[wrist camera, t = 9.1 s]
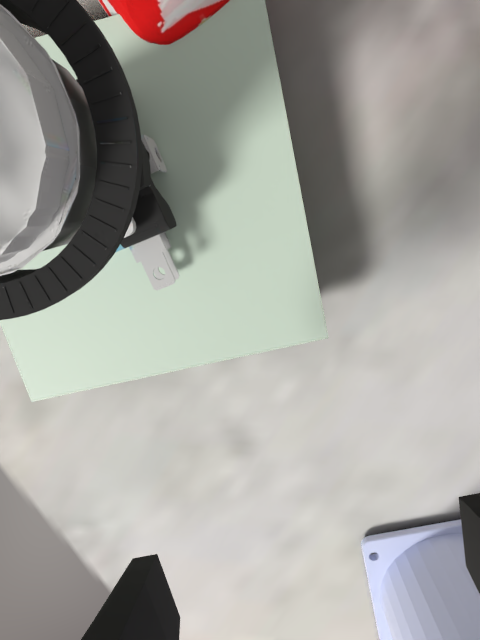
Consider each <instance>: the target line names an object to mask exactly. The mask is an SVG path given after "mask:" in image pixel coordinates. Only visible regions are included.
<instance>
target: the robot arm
mask: <svg viewBox="0 0 480 640" xmlns="http://www.w3.org/2000/svg"><path fill="white" fill-rule="evenodd" d="M459 504H460V514H461V519H460V520H454V521H449V522H443V523H437V524H432V525H426V526H421V527H415V528H409V529H404V530H398V531H393V532H387V533H381V534H376V535H370V536H367V537H365V538H364V539H363V540H362V542H361V548H362V553H363V558H364V563H365V568H366V573H367V579H368V584H369V589H370V594H371V599H372V604H373V610H374V615H375V620H376V625H377V630H378V636H379V640H480V493H478V494H473V495H467V496H462V497H459ZM373 552H376V553H375V554H373V555H372V554H371V553H373ZM179 628H180V616H179V613H178V610H177V607H176V605H175V602H174V599H173V596H172V594H171V591H170V588H169V585H168V583H167V580H166V577H165V574H164V572H163V569H162V566H161V563H160V561H159V558H158V555H157V554H155V555H150V556H144V557H139V558H134V559H132V561H131V562H130V564H129V565H128V567H127V568H126V570H125V572H124V573H123V575H122V576H121V578H120V579H119V581H118V583H117V584H116V586H115V587H114V589H113V591H112V592H111V594H110V595H109V597H108V599H107V600H106V602H105V603H104V605H103V607H102V608H101V610H100V611H99V613H98V614H97V616H96V618H95V619H94V621H93V622H92V624H91V625H90V627H89V629H88V630H87V631H86V633H85V634H84V636H83V637H82V639H81V640H179Z"/></svg>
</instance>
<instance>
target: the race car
mask: <svg viewBox="0 0 480 640" xmlns="http://www.w3.org/2000/svg"><path fill="white" fill-rule="evenodd" d="M98 1H99V3H100V4H101V6H102V7H103V9H104V10H105V12H106V13H107V15H108V16H109V17H110V16H114V15H117V14H120V16H121V17H122V18H123V20H124V21H125V22H126V23H127V25H128V26H129V27H130V29H131V30H132V31H133V32H134V33H135V34H136V35H137V36H139V37H140V38H141V39H143V40H145V41H146V42H148V43H154V44H158V45H170V44H171V43H173V42H175V41H177V40H179V39H181V38H183V37H184V36H185V35H187V34H188V33H190V32H191V31H193V30H194V29H196V28H197V27H198V26H200V25H201V24H202V23H204V22H205V21H207V20H208V19H209V18H210V17H211V16H213V15H214V14H215V13H216V12H217V11H218V10H220V9H221V8H222V7H223V6H224V5H225V4H226V3H228V2H229V1H230V0H98Z"/></svg>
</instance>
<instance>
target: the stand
mask: <svg viewBox="0 0 480 640" xmlns="http://www.w3.org/2000/svg"><path fill="white" fill-rule="evenodd" d="M94 22H95V23H96V25H97V26H98V27H99V29H100V30H101V32H102V33H103V35H104V36H105V38H106V40H107V41H108V43H109V44H110V46H111V47H112V49H113V51H114V53H115V55H116V57H117V59H118V61H119V63H120V65H121V67H122V69H123V71H124V74H125V76H126V79H127V81H128V84H129V86H130V89H131V92H132V96H133V99H134V103H135V106H136V110H137V115H138V120H139V126H140V132H141V136H142V135H146V136H148V137H150V138H152V139H153V140H154V142H155V143H156V145H157V147H158V150H159V152H160V154H161V157H162V159H163V161H164V164H165V166H166V169H167V172H166V173H164V172H161V171H156V172H154V173H152V174H151V179H152V181H153V183H154V185H155V187H156V189H157V190H158V191H159V193H160V194H161V195H162V197H163V198H164V199H165V201H166V202H167V203H168V205H169V207H170V209H171V211H172V213H173V215H174V218H175V220H176V224H177V226H176V227H174V228H172V229H170V230H168V231H165V233H166V236H167V238H168V240H169V242H170V245H171V248H169V249H168V251H169V253H170V255H171V257H172V260H173V262H174V264H175V266H176V269H177V271H178V273H179V278H178V279H176V280H175V283H174V284H172V285H170V286H167V287H165V288H162V289H160V290H158V291H157V290H154V289H153V286H152V284H151V282H150V280H149V278H148V276H147V274H146V272H145V269H144V267H143V265H142V263H141V262H138V263H136V261H135V259H134V256H133V254H132V252H131V250H130V248H129V247H127V248H125V249H122V250H120V251H118V252H115V254H114V255H113V256H112V258H111V259H110V260H109V262H108V263H107V264H106V265H105V267H104V268H103V269H102V270H101V271H100V272H99V273H98V274H97V275H96V276H95V277H94V278H93V279H92V280H91V281H90V282H88V283H87V284H86V285H85V286H83V287H82V288H81V289H80V290H78V291H76V292H75V293H73V294H72V295H70V296H68V297H67V298H65V299H63V300H62V301H60V302H58V303H56V304H54V305H52V306H50V307H48V308H46V309H44V310H41V311H38V312H35V313H32V314H29V315H26V316H21V317H17V318H12V319H5V320H0V325H1V327H2V330H3V332H4V335H5V337H6V340H7V342H8V345H9V347H10V350H11V352H12V354H13V357H14V359H15V362H16V364H17V367H18V369H19V372H20V374H21V377H22V379H23V382H24V384H25V387H26V389H27V392H28V394H29V397H30V399H31V402H34V401H38V400H43V399H48V398H52V397H57V396H61V395H66V394H71V393H75V392H80V391H85V390H89V389H94V388H99V387H103V386H108V385H113V384H117V383H122V382H127V381H131V380H136V379H141V378H145V377H150V376H155V375H159V374H164V373H169V372H173V371H178V370H182V369H187V368H192V367H196V366H201V365H206V364H210V363H215V362H220V361H224V360H229V359H234V358H238V357H243V356H248V355H252V354H257V353H262V352H266V351H271V350H276V349H280V348H285V347H290V346H294V345H299V344H304V343H308V342H313V341H317V340H322V339H327V338H328V333H327V327H326V322H325V317H324V311H323V306H322V301H321V295H320V290H319V285H318V280H317V274H316V269H315V264H314V258H313V253H312V248H311V242H310V237H309V232H308V226H307V221H306V216H305V210H304V205H303V200H302V194H301V189H300V184H299V179H298V173H297V168H296V163H295V157H294V152H293V147H292V141H291V136H290V131H289V125H288V120H287V115H286V109H285V104H284V99H283V94H282V88H281V83H280V78H279V72H278V67H277V62H276V56H275V51H274V46H273V40H272V35H271V30H270V24H269V19H268V14H267V8H266V3H265V0H230V1H229V2H228V3H226V4H225V5H224V6H223V7H222V8H221V9H220V10H218V11H217V12H216V13H215V14H214V15H213V16H211V17H210V18H209V19H208V20H207V21H205V22H204V23H202V24H201V25H200V26H198V27H197V28H196V29H194V30H193V31H191V32H190V33H188V34H187V35H185V36H184V37H183V38H181V39H179V40H177V41H175V42H173V43H171V44H170V45H158V44H154V43H148V42H146V41H145V40H143V39H141V38H140V37H139V36H137V35H136V34H135V33H134V32H133V31H132V30H131V29H130V27H129V26H128V25H127V23H126V22H125V21H124V20H123V18H122V17H121V16H120V14H117V15H114V16H110V17H107V18H103V19H100V20H96V21H94ZM35 39H36V40H37V41H38V42H39V44H40V45H41V46H42V47H43V48H44V49H45V50H46V51H47V53H48V54H49V56H50V58H51V59H53V60H54V61H56V62H57V63H58V64H60V65H61V66H63V67H64V68H66V69H67V70H68V71H69V72H70V74H71V75H72V76H73V77H74V79H75V80H76V79H77V76H76V74H75V72H74V71H73V69H72V67H71V66H70V64H69V62H68V61H67V59H66V57H65V56H64V54H63V53H62V52H61V50H60V49H59V48H58V46H57V45H56V44H55V42H54V41H53V40H52V38H51V37H50V36H49V35H48V34H47V35H43V36H40V37H36V38H35ZM67 245H68V244H67ZM67 245H63V246H59V247H56V248H52V249H49V250H45V251H42V252H40V253H39V254H38V255H37V256H36V257H35V258H33V259H32V260H31V261H30V262H29V263H27V264H26V265H25V266H24V267H23V268H21V269H19V270H29V269H39V268H41V267H43V266H45V265H46V264H48V263H49V262H50V261H51V260H52V259H54V258H55V257H56V256H57V255H58V254H59V253H60V252H61V251H62V250H63V249H64V248H65V247H66V246H67ZM159 271H160V273H162V274H165V271H164V269H163V268H161V267H159ZM153 273H154V272H153ZM154 276H155V274H154ZM155 277H156V276H155Z"/></svg>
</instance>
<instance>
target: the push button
mask: <svg viewBox="0 0 480 640" xmlns="http://www.w3.org/2000/svg"><path fill="white" fill-rule="evenodd" d="M21 23H22V24H25V25H28V26H30V27H33V28H36V29H38V30H40V31H42V32H44V33H46V34H48V35H49V36H50V37H51V38H52V40H53V41H54V42H55V44H56V45H57V46H58V48H59V49H60V50H61V52H62V53H63V54H64V56H65V57H66V59H67V61H68V62H69V64H70V66H71V67H72V69H73V71H74V72H75V74H76V76H77V79H76V80H75V79H74V77H73V76H72V75H71V74H70V72H69V71H68V70H67V69H66V68H64V67H63V66H61V65H60V64H58V63H57V62H56V61H54V60H53V59H51V58H50V56H49V54H48V53H47V51H46V50H45V49H44V48H43V47H42V46H41V45H40V44H39V42H38V41H37V40H36V39H35V38H34V37H33V36H32V35H31V34H30V33H29V32H28V31H27V30H26V29H25V28H24V26H23V25H22V24H21ZM156 171H161V172H164V173H166V172H167V169H166V166H165V164H164V161H163V159H162V157H161V154H160V152H159V150H158V147H157V145H156V143H155V142H154V140H153V139H152V138H150V137H148V136H146V135H142V136H141V132H140V126H139V120H138V115H137V110H136V106H135V103H134V99H133V96H132V92H131V89H130V86H129V84H128V81H127V79H126V76H125V74H124V71H123V69H122V67H121V65H120V63H119V61H118V59H117V57H116V55H115V53H114V51H113V49H112V47H111V46H110V44H109V43H108V41H107V40H106V38H105V36H104V35H103V33H102V32H101V30H100V29H99V27H98V26H97V25H96V23H95V22H94V21H93V20H92V18H91V17H90V16H89V14H88V13H87V12H86V11H85V10H84V8H83V7H82V6H81V5H80V4H79V3H78V2H77V0H0V320H5V319H12V318H17V317H21V316H26V315H29V314H32V313H35V312H38V311H41V310H44V309H46V308H48V307H50V306H52V305H54V304H56V303H58V302H60V301H62V300H63V299H65V298H67V297H68V296H70V295H72V294H73V293H75V292H76V291H78V290H80V289H81V288H82V287H83V286H85V285H86V284H87V283H88V282H90V281H91V280H92V279H93V278H94V277H95V276H96V275H97V274H98V273H99V272H100V271H101V270H102V269H103V268H104V267H105V265H106V264H107V263H108V262H109V260H110V259H111V258H112V256H113V255H114V254H115V252H118V251H120V250H122V249H125V248H127V247H129V248H130V250H131V252H132V254H133V256H134V259H135V261H136V263H138V262H141V263H142V265H143V267H144V269H145V272H146V274H147V276H148V278H149V280H150V282H151V284H152V286H153V289H154V290H157V291H158V290H160V289H162V288H165V287H167V286H170V285H172V284H174V283H175V280H176V279H178V278H179V273H178V271H177V269H176V266H175V264H174V262H173V260H172V257H171V255H170V253H169V251H168V249H169V248H171V245H170V242H169V240H168V238H167V236H166V233H165V231H168V230H170V229H172V228H174V227H176V226H177V224H176V220H175V218H174V215H173V213H172V211H171V209H170V207H169V205H168V203H167V202H166V201H165V199H164V198H163V197H162V195H161V194H160V193H159V191H158V190H157V189H156V187H155V185H154V183H153V181H152V179H151V174H152V173H154V172H156ZM67 244H68V245H67ZM63 245H67V246H66V247H65V248H64V249H63V250H62V251H61V252H60V253H59V254H58V255H57V256H56V257H55V258H54V259H52V260H51V261H50V262H49V263H48V264H46V265H45V266H43V267H41V268H39V269H29V270H19V269H21V268H23V267H24V266H25V265H26V264H27V263H29V262H30V261H31V260H32V259H33V258H35V257H36V256H37V255H38V254H39V253H40V252H42V251H45V250H49V249H52V248H56V247H59V246H63ZM159 267H161V268H163V269H164V271H165V274H162V273H160V271H159ZM153 272H154V273H153ZM154 274H155V276H156V277H155V276H154Z"/></svg>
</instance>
